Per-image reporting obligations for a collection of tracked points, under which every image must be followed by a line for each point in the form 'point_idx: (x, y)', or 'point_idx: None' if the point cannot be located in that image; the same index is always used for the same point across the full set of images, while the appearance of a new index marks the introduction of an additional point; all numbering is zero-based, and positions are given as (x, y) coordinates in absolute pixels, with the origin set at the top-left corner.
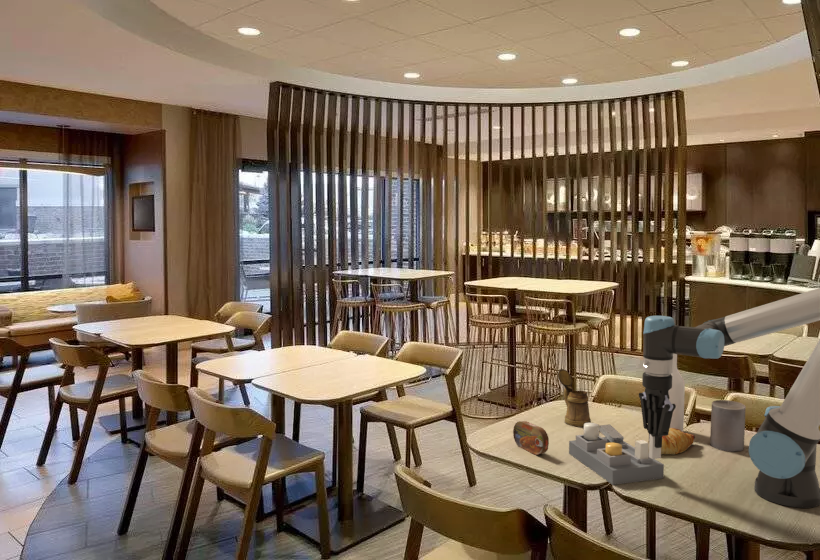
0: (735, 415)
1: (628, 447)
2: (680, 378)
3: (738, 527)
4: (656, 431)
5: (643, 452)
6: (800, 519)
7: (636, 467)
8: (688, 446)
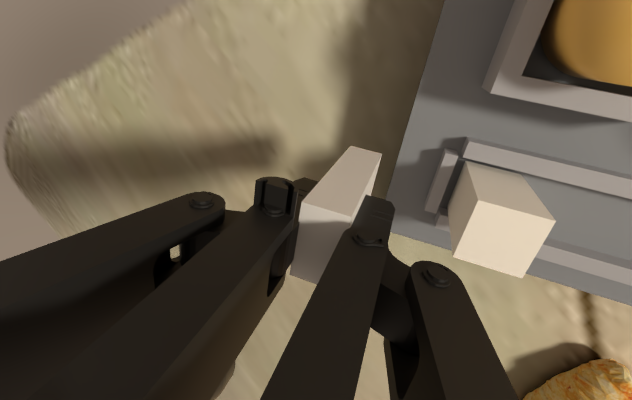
0: None
1: None
2: None
3: (64, 97)
4: (237, 223)
5: (462, 197)
6: None
7: (424, 78)
8: None
